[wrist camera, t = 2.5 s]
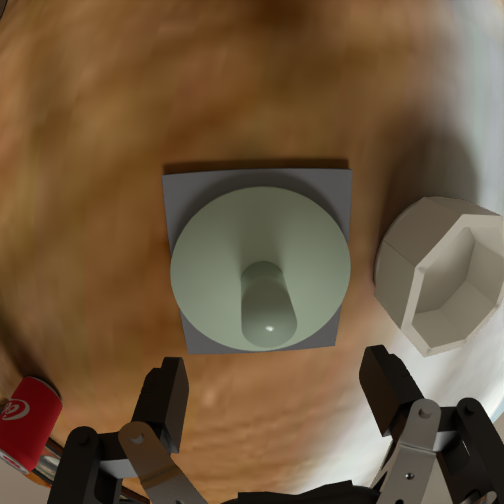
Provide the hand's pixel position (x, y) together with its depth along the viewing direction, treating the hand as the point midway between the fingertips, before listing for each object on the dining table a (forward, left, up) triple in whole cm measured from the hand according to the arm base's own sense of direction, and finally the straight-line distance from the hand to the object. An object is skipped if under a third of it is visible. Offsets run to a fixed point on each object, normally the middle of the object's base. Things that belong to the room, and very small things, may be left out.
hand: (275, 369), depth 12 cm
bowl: (0, +14, -9) cm, 17 cm away
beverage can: (+16, -27, -10) cm, 33 cm away
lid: (0, 0, -9) cm, 9 cm away
